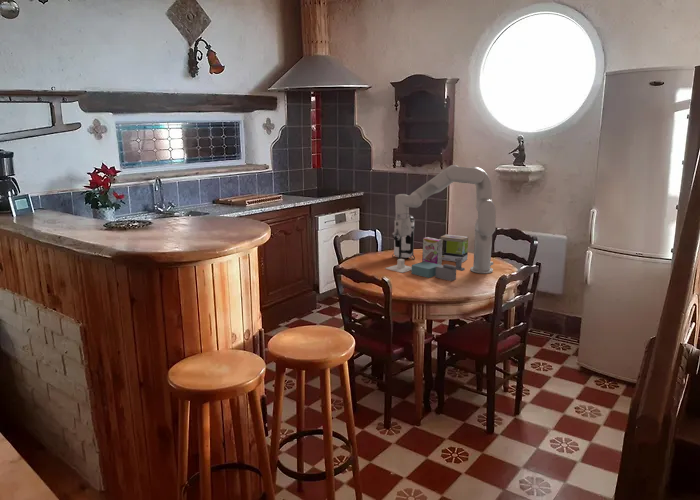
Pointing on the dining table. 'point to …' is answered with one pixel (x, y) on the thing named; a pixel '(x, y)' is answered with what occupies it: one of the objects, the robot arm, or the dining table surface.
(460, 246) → the tea box
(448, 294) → the dining table surface
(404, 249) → the coffee press
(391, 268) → the lid
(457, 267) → the bolt
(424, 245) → the candy bar box
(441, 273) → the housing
